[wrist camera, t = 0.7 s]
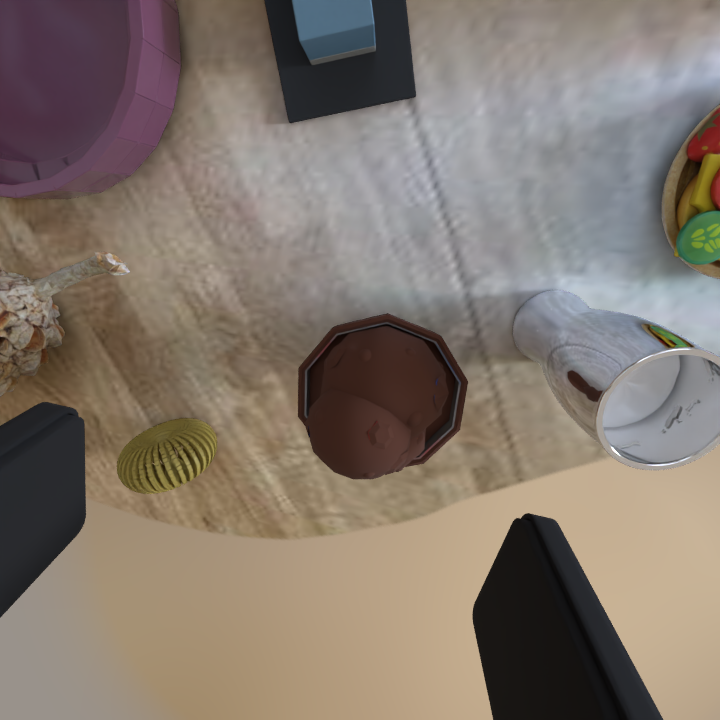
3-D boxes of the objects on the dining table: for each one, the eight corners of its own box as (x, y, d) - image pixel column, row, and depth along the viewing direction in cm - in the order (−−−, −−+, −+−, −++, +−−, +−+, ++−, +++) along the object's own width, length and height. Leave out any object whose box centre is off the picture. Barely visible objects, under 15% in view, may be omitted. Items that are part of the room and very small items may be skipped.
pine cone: (9, 399, 39) (-109, 460, 30) (-72, 312, 36) (-229, 349, 27) (189, 284, 34) (116, 314, 25) (111, 175, 31) (-3, 162, 22)
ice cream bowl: (415, 424, 38) (434, 554, 23) (300, 380, 37) (247, 488, 23) (469, 319, 34) (529, 400, 20) (342, 267, 33) (311, 313, 19)
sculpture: (222, 403, 38) (182, 452, 30) (236, 441, 39) (201, 496, 32) (143, 418, 39) (85, 469, 31) (159, 454, 40) (108, 511, 33)
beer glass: (609, 293, 32) (779, 361, 18) (575, 373, 35) (703, 486, 21) (522, 275, 32) (628, 329, 18) (495, 357, 35) (570, 459, 21)
